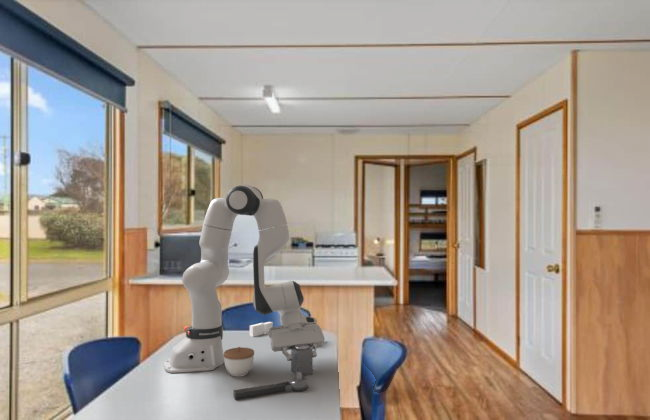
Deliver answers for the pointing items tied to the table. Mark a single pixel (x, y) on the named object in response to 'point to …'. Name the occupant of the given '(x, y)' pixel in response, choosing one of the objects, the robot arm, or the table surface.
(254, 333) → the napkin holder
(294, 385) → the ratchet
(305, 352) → the grey metal block
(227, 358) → the lidded jar
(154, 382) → the table surface
